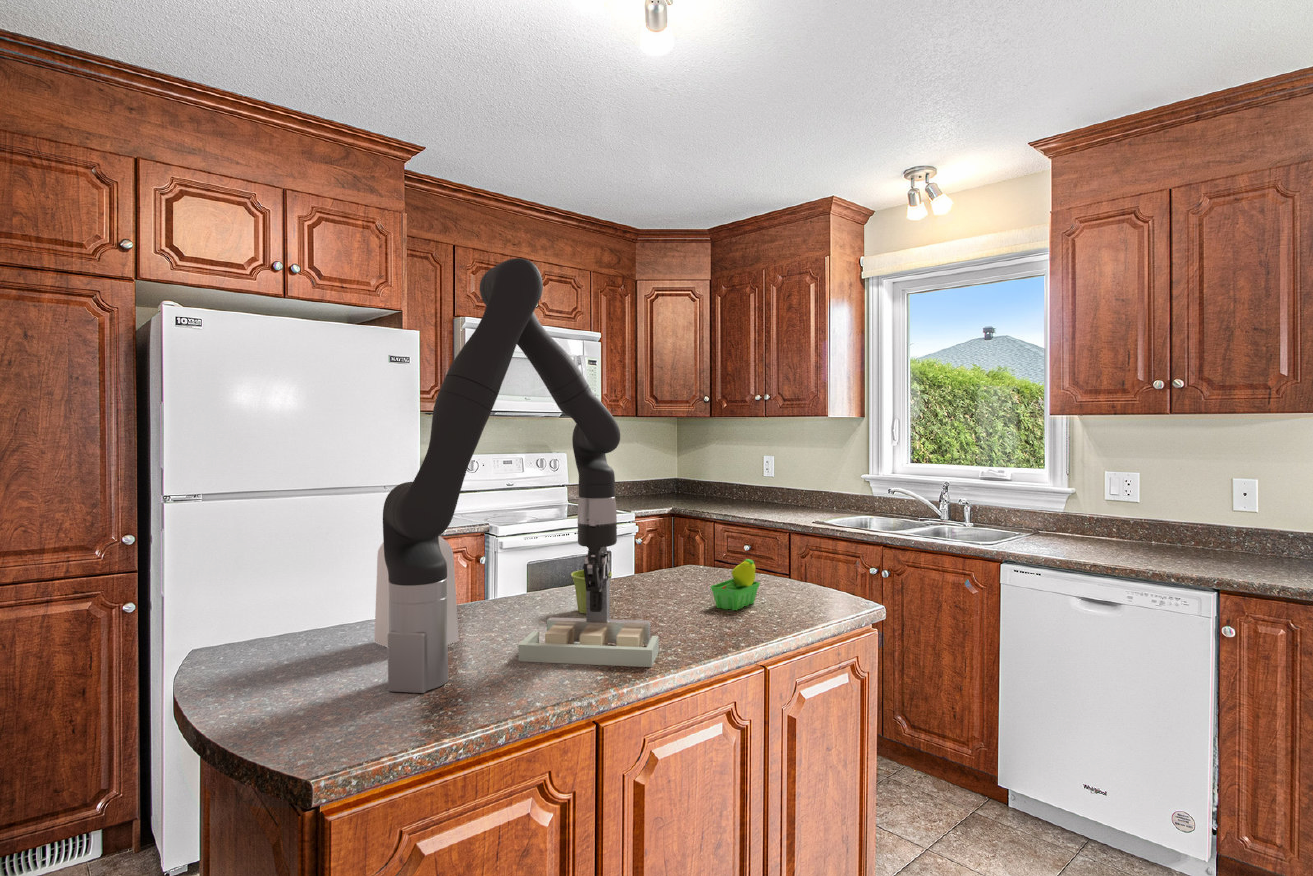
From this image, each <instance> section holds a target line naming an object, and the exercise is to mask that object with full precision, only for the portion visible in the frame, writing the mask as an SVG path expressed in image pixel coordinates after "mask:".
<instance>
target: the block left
mask: <svg viewBox="0 0 1313 876" xmlns="http://www.w3.org/2000/svg"><path fill="white" fill-rule="evenodd" d="M544 643H551V644H575V642H574V625H553V626H552V627H551V628H550V629H549V630H548V631H547V630H546V632H545V633H544Z"/></svg>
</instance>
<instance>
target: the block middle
mask: <svg viewBox="0 0 1313 876" xmlns="http://www.w3.org/2000/svg"><path fill="white" fill-rule="evenodd" d="M579 645H601V646H609V643H608V627H605V626H587V627H586V628H585V629H584V631H583V632H582V633H581V634H580V642H579Z"/></svg>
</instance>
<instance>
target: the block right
mask: <svg viewBox="0 0 1313 876" xmlns="http://www.w3.org/2000/svg"><path fill="white" fill-rule="evenodd" d="M616 646H625V647H644V644H643V628H633V627H622V629H621V630H620V632H619V633H618V635H617V643H616Z"/></svg>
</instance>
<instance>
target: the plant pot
mask: <svg viewBox="0 0 1313 876" xmlns="http://www.w3.org/2000/svg"><path fill="white" fill-rule="evenodd" d="M570 576H571V577H572V580H573V583H574V589H575V597H576V604H577V611H578V612H579V613H580V614H585V615H586V585H585V577H584V569H579V570H577V571H576V570H575V571H572V572H571V573H570ZM612 576H613V573H612V571H610V570H609V578H610V579H611V577H612Z"/></svg>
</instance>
